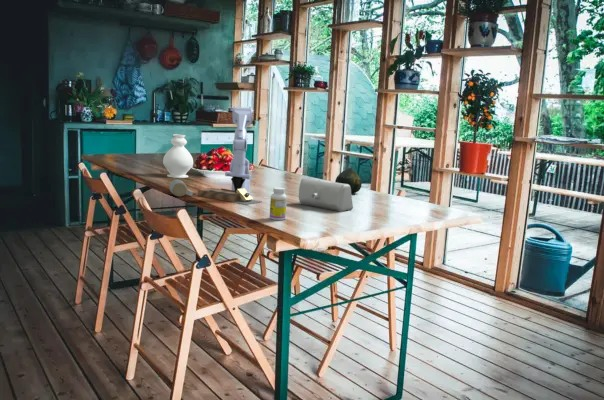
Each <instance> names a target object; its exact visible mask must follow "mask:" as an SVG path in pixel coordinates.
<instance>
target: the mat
mask: <svg viewBox="0 0 604 400" xmlns="http://www.w3.org/2000/svg"><path fill="white" fill-rule="evenodd" d="M260 203H263V201H261V200H256V199H252V200H251V201H249V202H244V201H243V200H241V201H235V202H233V204H241V205H246V206H248V205H253V204H260Z"/></svg>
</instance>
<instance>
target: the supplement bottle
mask: <svg viewBox="0 0 604 400" xmlns="http://www.w3.org/2000/svg"><path fill="white" fill-rule="evenodd" d="M285 191H286V188H284V187H273V193H272V194H271V195H270V203H269V219H270V220H273V221H283V220H284V221H285V219H286V215H287V211H286V210H287V198H288V197H287V195H286V194H285Z"/></svg>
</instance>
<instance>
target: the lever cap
mask: <svg viewBox="0 0 604 400" xmlns="http://www.w3.org/2000/svg"><path fill="white" fill-rule="evenodd" d="M236 192H237V193H238V195H239V196H240V197H241V198H242V199H243V201H244V202H249V201H251V200H254V198H253V196H251V195H250V193H248V192H247V191H246V190H245V189H244V188H242V189H237V191H236Z"/></svg>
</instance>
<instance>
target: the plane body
mask: <svg viewBox="0 0 604 400" xmlns="http://www.w3.org/2000/svg"><path fill="white" fill-rule="evenodd" d="M197 196H199V197H203V198H209V199H216V200H222V201H226V202H230V203H231V202H232V203H234V202H235V201H241V200H243V199H242V198H241V197H240V196H239V195H238V193H235V191H234V190H232V189H229V188H228V189H227V188H216V187H215V188H214V187H210V188H209V187H207V188H202V189H198V190H197Z"/></svg>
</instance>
